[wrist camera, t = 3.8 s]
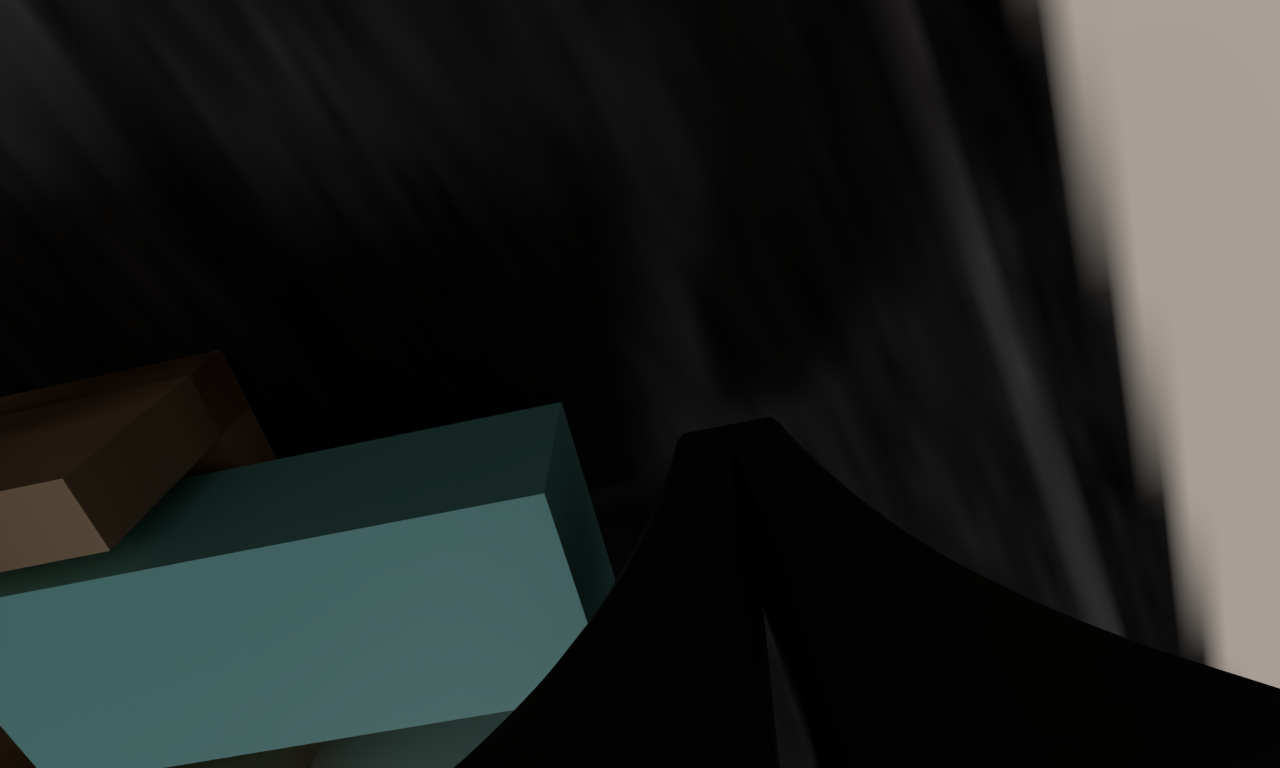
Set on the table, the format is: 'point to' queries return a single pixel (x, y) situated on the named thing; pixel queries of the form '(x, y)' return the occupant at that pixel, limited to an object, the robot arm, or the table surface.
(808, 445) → the table surface
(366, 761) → the off-white rectangular box
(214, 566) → the teal flat slab
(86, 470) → the walnut key block
